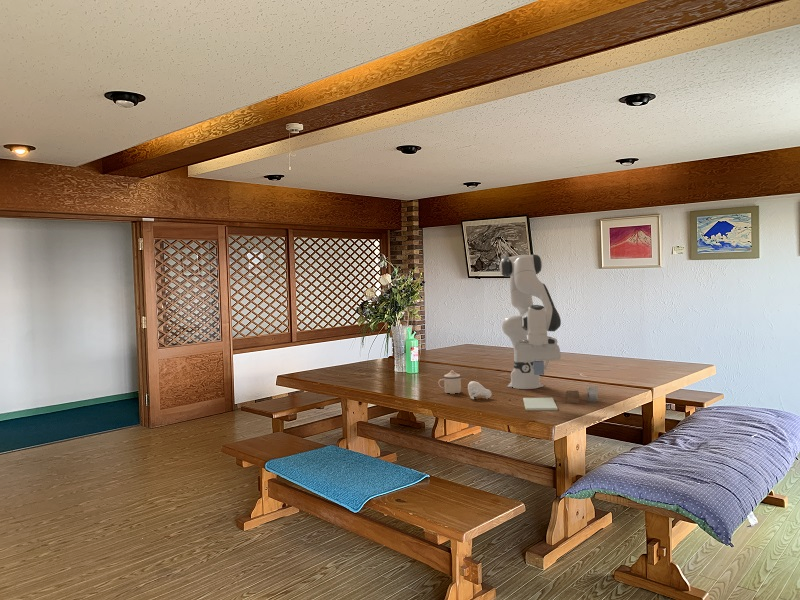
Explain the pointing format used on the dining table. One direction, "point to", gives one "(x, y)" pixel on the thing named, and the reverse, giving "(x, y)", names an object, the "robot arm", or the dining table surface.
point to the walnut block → (573, 396)
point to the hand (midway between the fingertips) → (538, 369)
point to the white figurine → (478, 390)
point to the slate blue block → (538, 367)
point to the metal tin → (592, 393)
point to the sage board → (539, 404)
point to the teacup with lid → (451, 383)
